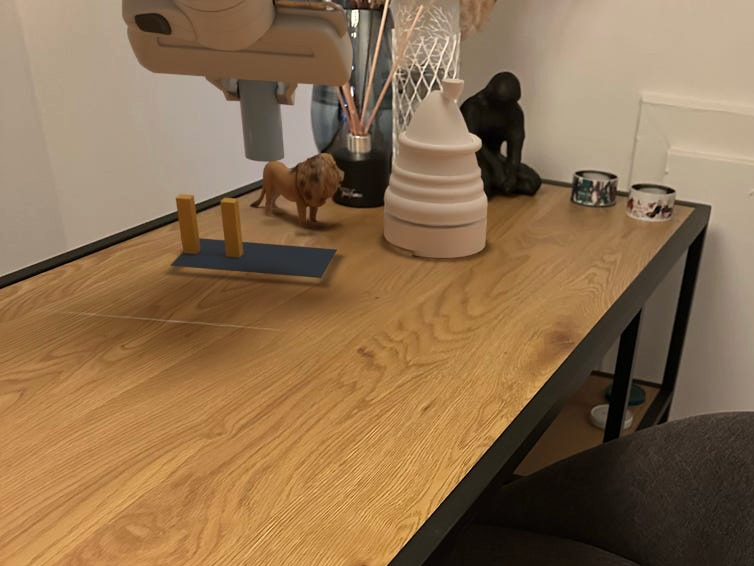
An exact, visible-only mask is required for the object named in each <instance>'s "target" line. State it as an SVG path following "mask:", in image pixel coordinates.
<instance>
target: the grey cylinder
mask: <svg viewBox="0 0 754 566" xmlns="http://www.w3.org/2000/svg"><path fill="white" fill-rule="evenodd" d="M277 83H278V82H272V81H259V80H245V79H238V89H239V99H240V101H239V109H240V117H241V128H242V139H243V147H244V157H245V158H246V159H248V160H250V161H253V162H254V161H255V162H261V163H263V162H264V163H268V162H271V161H281V160H283V159H284V158H285V148H284V147H285V146H284V136H283V134H284V133H283V119H282V108H281V107H282V106H281V105H282V104H279V100H278V99H277V96H276V90H277V88H278V85H277Z"/></svg>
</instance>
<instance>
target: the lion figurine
mask: <svg viewBox="0 0 754 566" xmlns="http://www.w3.org/2000/svg"><path fill="white" fill-rule="evenodd" d="M344 178H345V171H343V170H342V169H340V168H339V167H338V165H337V163H336V161H335V160H334V157H333V155H332V154H330V153H327V152H320V153H319V152H318V153H317V154H314V155H313V156H311V157H308V158H306V159H305V160H303V161H299V162H298V163H297V164H296V165H295V166H294V168H289V167H288V166H287V165H286V164H285V163H284V162H281V161H280V160H278V161H271V162H266V163H265V164H264V167H263V170H262V187H261V193H260V195H259V198H258V199H257V200H255V201H253V202H252V203H251V204H249V207H251V208H255V209H256V208H257V207H259V206H260V205H261V204H262V202H263V201H264V198H265V203H264V208H265V212H266V213H265V214H266V216H267V217H268V218H275V217H276V215H275V214H274V213H273V211H272V210H273V209H274V210H275V209H277V210H278V209H279V206H278V205H276V201H277V200H278V198H279V197H280V196H282V197H283V198H284V199H285V200H287V201H289V202H292V203H295V204H296V209H297V215H298V223H299V227H300V228H308V227H309V223H311V224H313V223H316V224H319V223H320V221H319V220H317V215H318V214H317V213H318V210H319V208H321V207H323V206H325V205H326V203H327V200H328V199H330V198H332V197H333V196H334V195H335V194H336V193H337V191H338V188H341V186H342V182H343V181H344ZM307 208H309V214H308V215H309V218H308V219H309V223H308V220H307V212H308V211H307Z"/></svg>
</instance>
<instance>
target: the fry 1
mask: <svg viewBox="0 0 754 566" xmlns="http://www.w3.org/2000/svg"><path fill="white" fill-rule="evenodd" d="M175 205H176V211H177V219H178V226H179V232H180V239H181V246H182V252H183V253H187V254H198V252H199V251H200V250H201V248H200V240H199V238H200V231H199V225H198V224H199V223H198V217H197V209H196V201H195V195H194V194H183V193H180V194H178V195H177V196H176V197H175Z"/></svg>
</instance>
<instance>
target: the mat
mask: <svg viewBox="0 0 754 566" xmlns="http://www.w3.org/2000/svg"><path fill="white" fill-rule="evenodd" d="M199 240H200V248H201V250H200V251H199V252H198V254H187V253H183V251H182V252H181V253H180V254H179V255H178V256H177V257H176V258H175V259H174V261H173V262H171V264H170V267H180V268H181V267H183V268H194V269H205V270H217V271H228V272H229V271H231V272H241V273H254V274H255V273H256V274H266V275H267V274H268V275H278V276H290V277H291V276H292V277H301V278H302V277H303V278H316V279H322V277H323V275H324V274H325V272H326V270H327V269H328V267H329V265H330V263H331V261H332V260H333V258H334V257H335V254H336V252H337V251H338V248H337V249H336V248H323V247H314V246H313V247H311V246H299V245H287V244H275V243H274V244H272V243H265V242H264V243H263V242H250V241H249V242H248V241H242V245H243V255H242V256H241V257H240V258H236V257H227V256H226V249H225V240H224V239H214V238H201V237H199Z"/></svg>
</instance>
